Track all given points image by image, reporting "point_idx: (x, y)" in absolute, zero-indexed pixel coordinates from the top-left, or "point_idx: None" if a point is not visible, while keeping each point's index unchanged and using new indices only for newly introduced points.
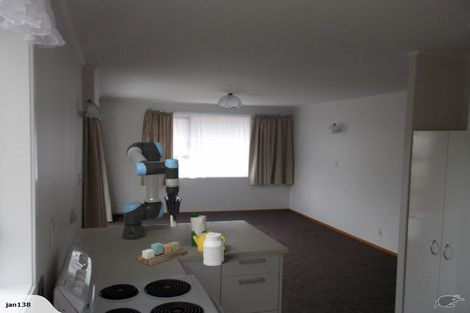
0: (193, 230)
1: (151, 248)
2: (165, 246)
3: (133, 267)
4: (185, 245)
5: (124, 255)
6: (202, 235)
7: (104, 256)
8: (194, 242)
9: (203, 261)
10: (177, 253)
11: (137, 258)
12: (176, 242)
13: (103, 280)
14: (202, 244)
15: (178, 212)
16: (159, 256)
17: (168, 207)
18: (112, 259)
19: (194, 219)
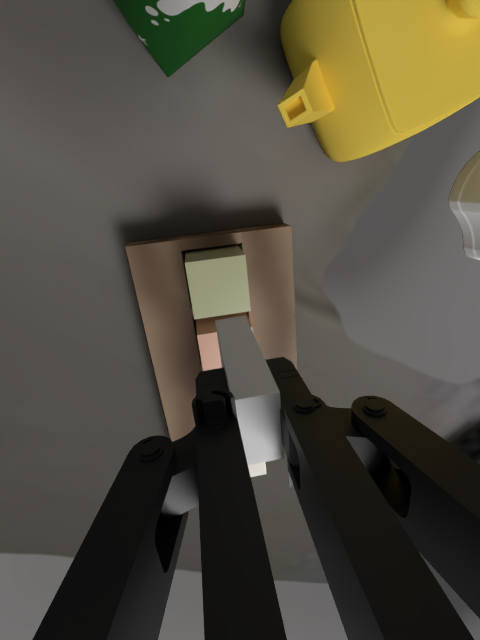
0: (190, 5)
1: None
2: None
3: (252, 483)
4: (99, 91)
5: (61, 466)
6: (397, 73)
7: (16, 529)
8: (193, 53)
9: (475, 258)
10: (293, 300)
11: None
12: (220, 266)
13: (288, 569)
14: (401, 140)
15: (411, 431)
16: None
17: (152, 629)
18: (88, 514)
19: None
